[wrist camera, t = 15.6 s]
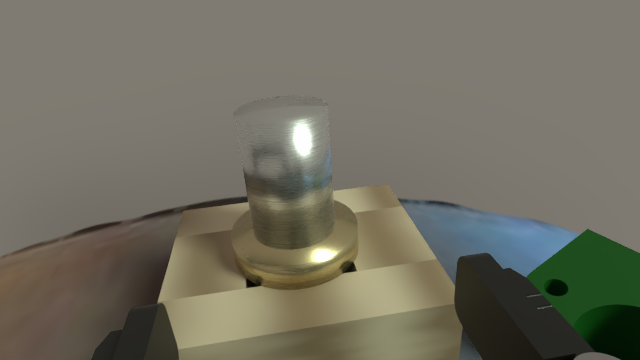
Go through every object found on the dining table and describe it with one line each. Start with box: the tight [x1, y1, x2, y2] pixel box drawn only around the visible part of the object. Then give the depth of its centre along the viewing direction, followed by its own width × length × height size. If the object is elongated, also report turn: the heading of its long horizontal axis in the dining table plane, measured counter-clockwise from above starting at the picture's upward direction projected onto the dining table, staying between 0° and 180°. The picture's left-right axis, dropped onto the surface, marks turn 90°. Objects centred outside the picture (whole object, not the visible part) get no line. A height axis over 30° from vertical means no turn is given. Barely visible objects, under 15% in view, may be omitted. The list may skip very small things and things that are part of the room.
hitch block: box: [157, 184, 463, 360], centre depth 25 cm, size 14×12×6 cm
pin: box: [231, 96, 358, 290], centre depth 23 cm, size 7×7×14 cm
